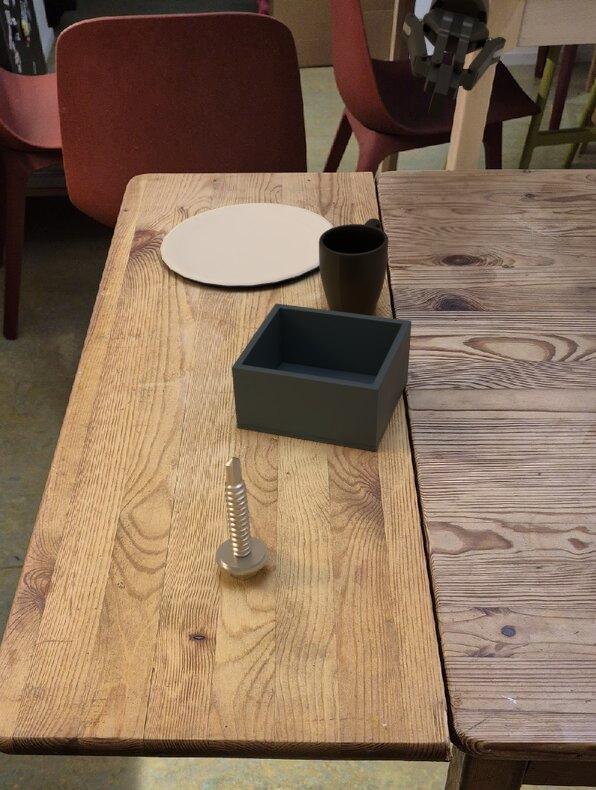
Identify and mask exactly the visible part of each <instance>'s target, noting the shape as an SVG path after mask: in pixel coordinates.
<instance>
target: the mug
mask: <svg viewBox="0 0 596 790" xmlns="http://www.w3.org/2000/svg"><path fill="white" fill-rule="evenodd" d="M381 222H382V221H380V219H378V218H375V217H372V218H369V219H367V220H366V221H365V222H364V224H362V223H350V224H342V225H337V226H333V227H334V228H331V229H329V230H327V231H326V232H324V233H323V234H322V235H321V237H320V239H319V267H318V268H319V274H320V279H321V281H320V282H321V284H322V288H323V293H324V296H325V300H326V302H327V305H328V310H331V311H338V312H346V313H354V314H362V315H369V316H375V312H376V308H377V306H378V304H379V303H378V302H379V300H380V298H381V294H382V291H383V288H384V283H385V280H386V274H387V270H388V269H387V268H388V258H389V257H388V255H389V237H388V234H387V233H386V232H385V231H384V230H382V223H381Z"/></svg>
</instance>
